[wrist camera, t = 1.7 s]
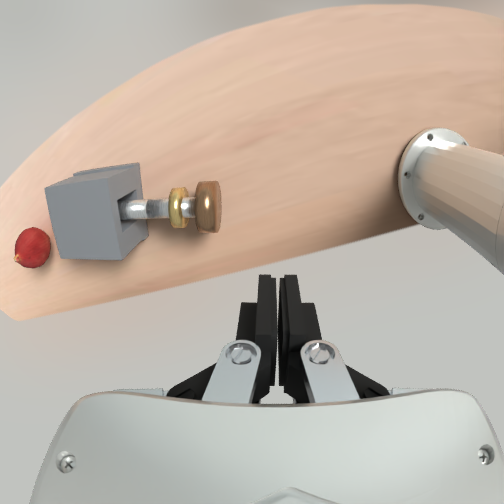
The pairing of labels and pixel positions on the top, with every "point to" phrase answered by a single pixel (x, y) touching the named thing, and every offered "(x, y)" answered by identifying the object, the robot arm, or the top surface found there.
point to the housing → (96, 213)
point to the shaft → (180, 207)
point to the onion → (32, 248)
